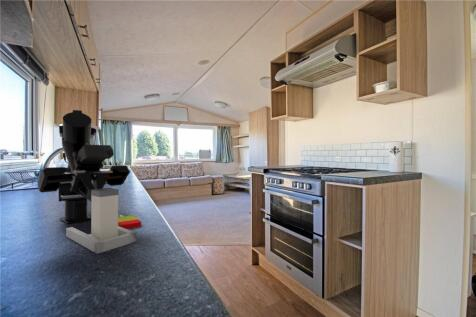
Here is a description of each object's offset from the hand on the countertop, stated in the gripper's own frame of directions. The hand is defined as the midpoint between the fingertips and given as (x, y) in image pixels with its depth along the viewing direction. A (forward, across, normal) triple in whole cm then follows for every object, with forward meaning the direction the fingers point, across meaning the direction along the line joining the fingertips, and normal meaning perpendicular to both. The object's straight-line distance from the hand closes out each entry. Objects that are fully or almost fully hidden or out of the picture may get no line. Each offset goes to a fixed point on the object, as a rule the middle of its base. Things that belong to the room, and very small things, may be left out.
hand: (99, 204), depth 55 cm
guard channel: (+6, 0, +6) cm, 8 cm away
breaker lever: (+7, 0, +4) cm, 8 cm away
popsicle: (0, +11, +13) cm, 17 cm away
